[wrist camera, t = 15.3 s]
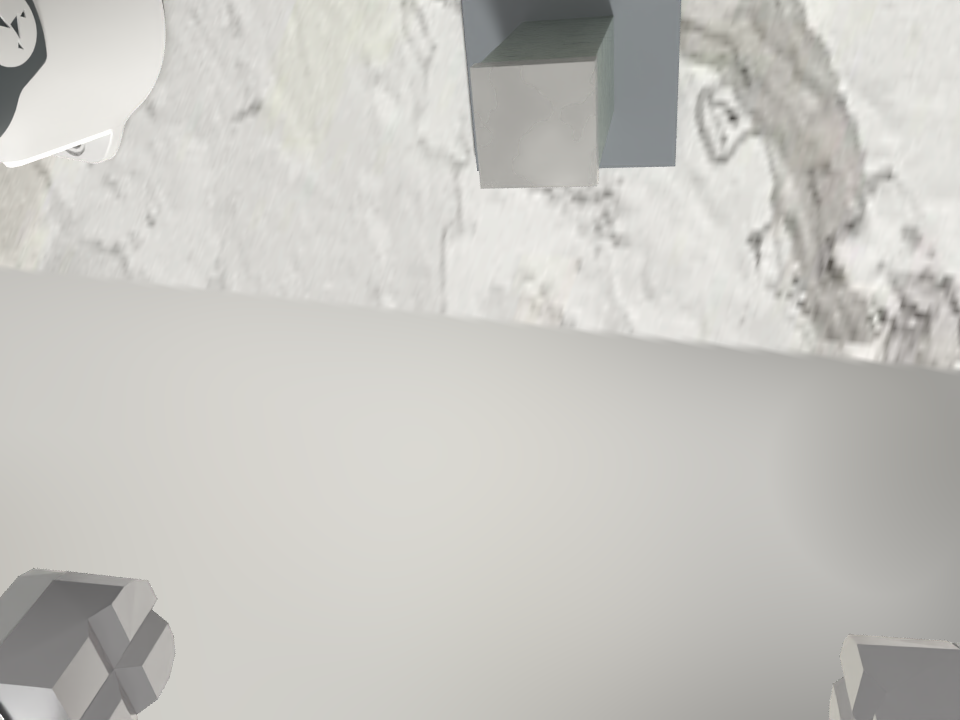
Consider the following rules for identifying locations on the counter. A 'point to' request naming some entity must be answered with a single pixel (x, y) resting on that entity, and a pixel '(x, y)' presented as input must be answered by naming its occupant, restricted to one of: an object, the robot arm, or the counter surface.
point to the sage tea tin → (545, 104)
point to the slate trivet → (637, 66)
